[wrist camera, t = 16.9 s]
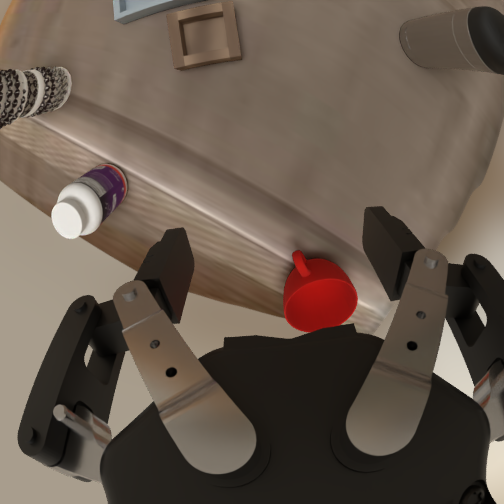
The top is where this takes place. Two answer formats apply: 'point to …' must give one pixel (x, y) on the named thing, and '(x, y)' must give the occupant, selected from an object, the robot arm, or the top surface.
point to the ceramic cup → (317, 294)
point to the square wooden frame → (204, 36)
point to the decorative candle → (32, 92)
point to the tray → (144, 8)
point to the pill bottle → (89, 201)
